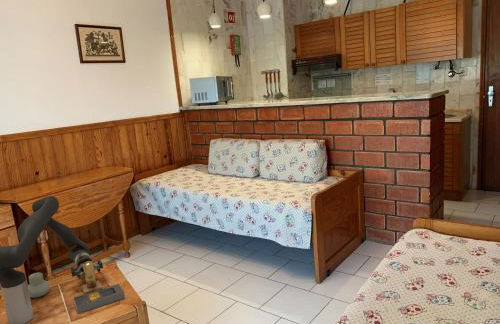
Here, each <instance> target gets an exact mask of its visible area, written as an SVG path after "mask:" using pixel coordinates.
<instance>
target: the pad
mask: <svg viewBox="0 0 500 324" xmlns="http://www.w3.org/2000/svg"><path fill="white" fill-rule="evenodd" d="M96 285H97V286H96V287H94V288H91V289H88V288H87V286H86V283H85V284H83V285H81V291H82V293H83V295H84V294H87V293H90V292H94V291H97V290H100V289H103V286H102V284H101V282H100V280H96Z"/></svg>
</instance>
